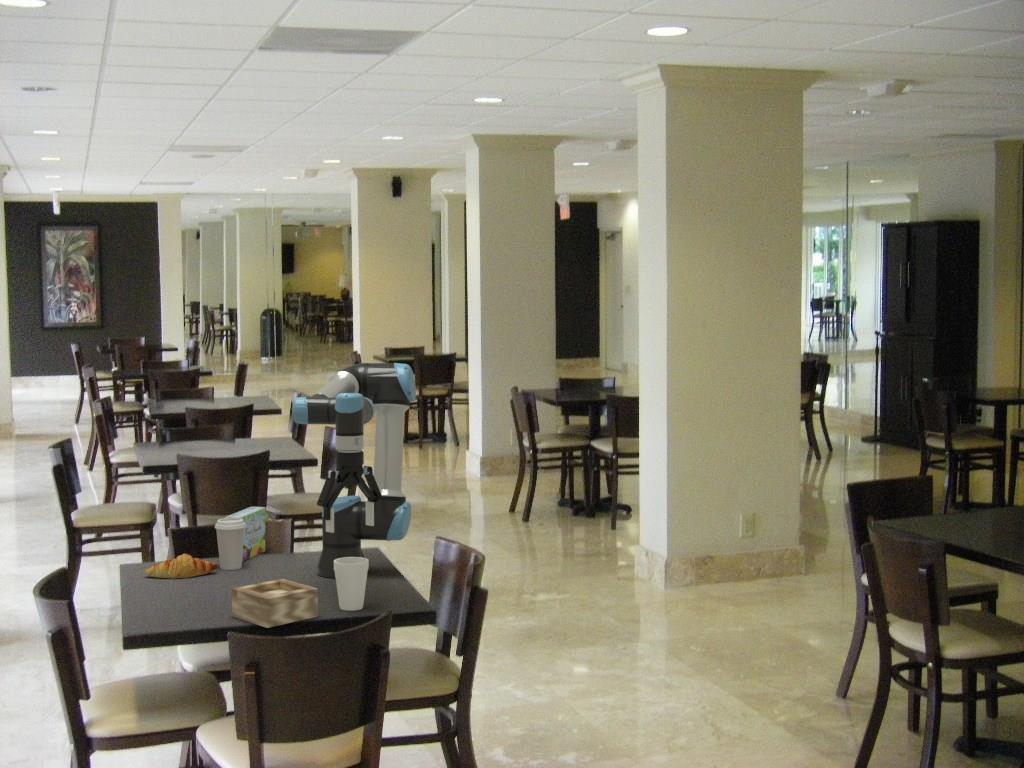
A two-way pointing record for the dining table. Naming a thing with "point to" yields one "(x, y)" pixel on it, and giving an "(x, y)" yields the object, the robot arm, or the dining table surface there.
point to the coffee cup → (230, 542)
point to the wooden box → (274, 603)
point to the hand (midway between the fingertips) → (350, 528)
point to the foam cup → (351, 581)
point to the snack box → (252, 530)
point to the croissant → (181, 568)
